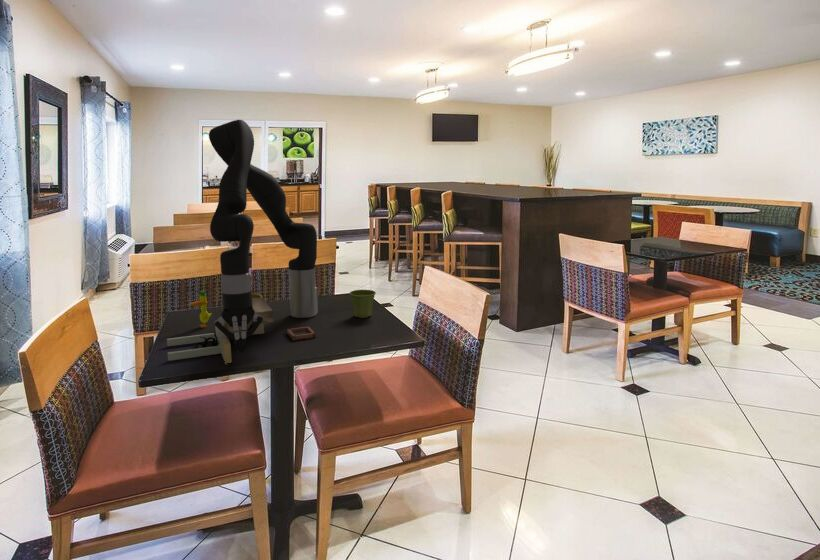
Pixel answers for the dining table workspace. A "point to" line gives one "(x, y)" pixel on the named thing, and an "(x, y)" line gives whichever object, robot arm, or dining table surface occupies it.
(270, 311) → the tunnel
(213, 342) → the creature
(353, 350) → the dining table surface
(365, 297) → the plant pot
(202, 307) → the toy figure
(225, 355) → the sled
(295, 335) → the brown tray
